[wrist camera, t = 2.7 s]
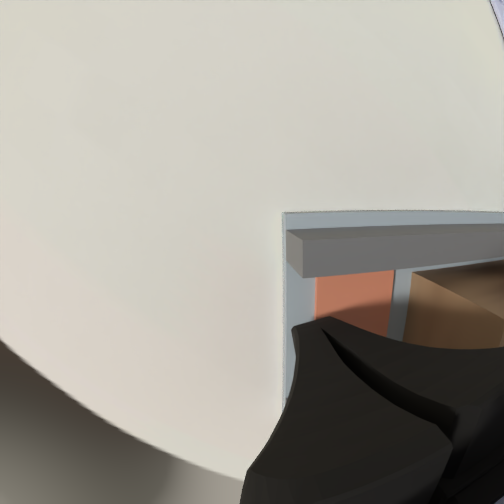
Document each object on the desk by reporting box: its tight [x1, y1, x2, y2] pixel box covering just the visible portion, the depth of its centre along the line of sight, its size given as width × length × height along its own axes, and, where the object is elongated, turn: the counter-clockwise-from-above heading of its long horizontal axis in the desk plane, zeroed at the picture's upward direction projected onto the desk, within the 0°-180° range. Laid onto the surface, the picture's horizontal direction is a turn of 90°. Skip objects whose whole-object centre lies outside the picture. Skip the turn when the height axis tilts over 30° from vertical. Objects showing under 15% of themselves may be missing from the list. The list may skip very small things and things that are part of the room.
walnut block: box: [402, 259, 504, 349], centre depth 9 cm, size 7×4×5 cm, turn 92°
